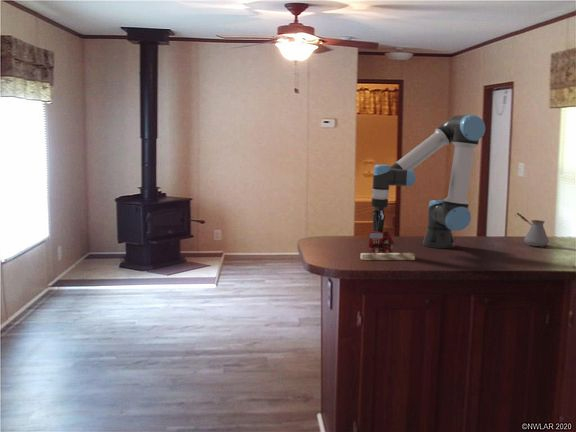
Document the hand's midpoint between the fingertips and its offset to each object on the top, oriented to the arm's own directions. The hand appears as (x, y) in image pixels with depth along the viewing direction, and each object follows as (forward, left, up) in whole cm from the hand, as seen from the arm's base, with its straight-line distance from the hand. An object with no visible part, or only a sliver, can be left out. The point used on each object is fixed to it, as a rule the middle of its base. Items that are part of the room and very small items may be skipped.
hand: (376, 248), depth 278 cm
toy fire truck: (0, +4, -2) cm, 4 cm away
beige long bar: (-1, +15, -2) cm, 15 cm away
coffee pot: (-88, -19, -2) cm, 90 cm away
